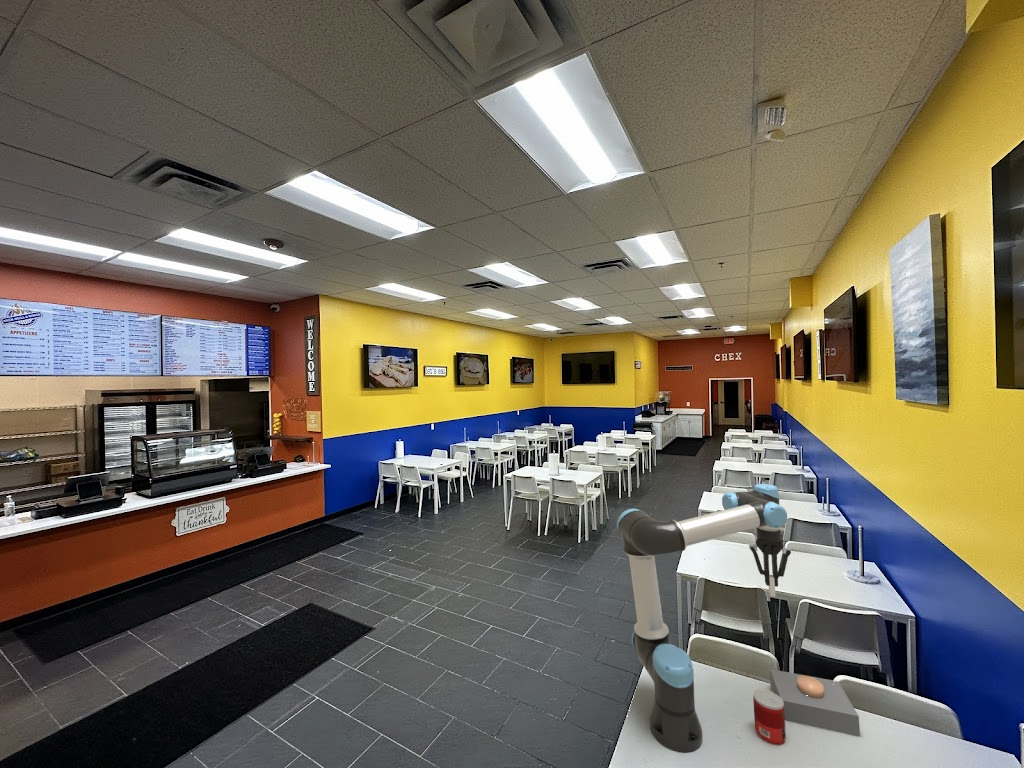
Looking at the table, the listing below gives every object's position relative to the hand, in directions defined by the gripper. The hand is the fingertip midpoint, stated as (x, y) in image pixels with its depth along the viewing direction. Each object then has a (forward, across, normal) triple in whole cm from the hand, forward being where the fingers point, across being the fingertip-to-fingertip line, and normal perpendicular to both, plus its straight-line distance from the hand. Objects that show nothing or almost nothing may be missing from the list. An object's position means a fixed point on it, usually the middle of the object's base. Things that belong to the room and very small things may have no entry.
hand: (772, 594), depth 145 cm
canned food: (+33, -7, -24) cm, 41 cm away
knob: (+32, +8, -8) cm, 34 cm away
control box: (+32, +8, -8) cm, 34 cm away
